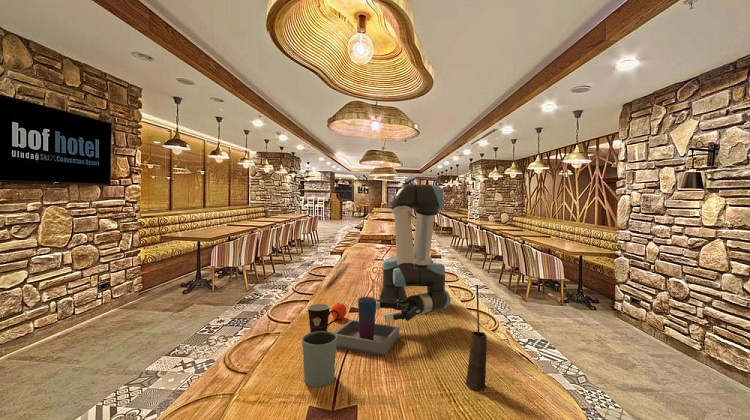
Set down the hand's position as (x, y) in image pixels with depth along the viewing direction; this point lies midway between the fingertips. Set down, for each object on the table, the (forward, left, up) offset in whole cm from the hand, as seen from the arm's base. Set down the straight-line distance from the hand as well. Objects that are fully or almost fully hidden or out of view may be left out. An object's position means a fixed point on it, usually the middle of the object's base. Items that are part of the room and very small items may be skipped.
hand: (374, 312), depth 116 cm
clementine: (-16, -23, -11) cm, 30 cm away
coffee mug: (+1, -22, -11) cm, 25 cm away
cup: (+3, -2, -10) cm, 10 cm away
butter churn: (+17, +38, -11) cm, 43 cm away
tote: (+3, -2, -11) cm, 11 cm away
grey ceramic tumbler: (+30, -5, -11) cm, 32 cm away
